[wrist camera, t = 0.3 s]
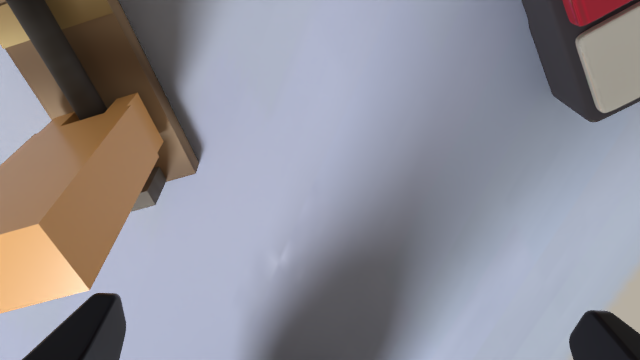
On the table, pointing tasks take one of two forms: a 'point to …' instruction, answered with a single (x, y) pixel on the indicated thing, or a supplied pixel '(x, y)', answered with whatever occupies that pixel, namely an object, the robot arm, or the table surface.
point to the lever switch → (92, 72)
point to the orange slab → (71, 200)
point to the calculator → (589, 52)
